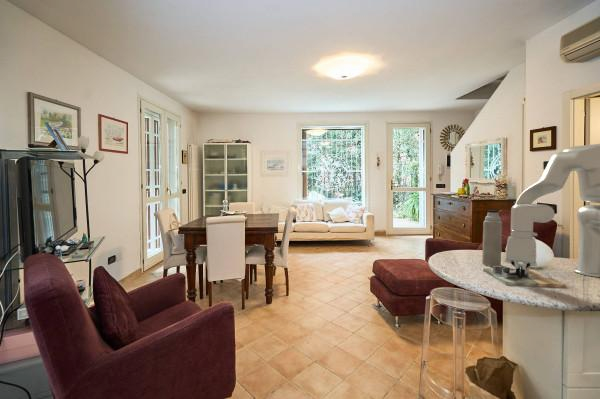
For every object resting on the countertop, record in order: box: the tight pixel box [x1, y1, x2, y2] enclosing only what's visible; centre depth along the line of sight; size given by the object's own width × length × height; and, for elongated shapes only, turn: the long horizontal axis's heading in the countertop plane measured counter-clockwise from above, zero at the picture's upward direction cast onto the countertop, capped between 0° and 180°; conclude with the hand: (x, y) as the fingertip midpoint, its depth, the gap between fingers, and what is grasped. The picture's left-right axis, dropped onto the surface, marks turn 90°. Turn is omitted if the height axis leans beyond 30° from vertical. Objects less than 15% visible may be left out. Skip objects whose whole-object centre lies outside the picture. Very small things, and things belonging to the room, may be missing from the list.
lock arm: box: [502, 266, 530, 278], centre depth 128 cm, size 13×4×4 cm, turn 106°
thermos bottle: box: [481, 209, 503, 268], centre depth 151 cm, size 8×8×28 cm
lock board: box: [482, 265, 567, 288], centre depth 130 cm, size 22×20×4 cm
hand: (520, 277), depth 125 cm, fingers closed
